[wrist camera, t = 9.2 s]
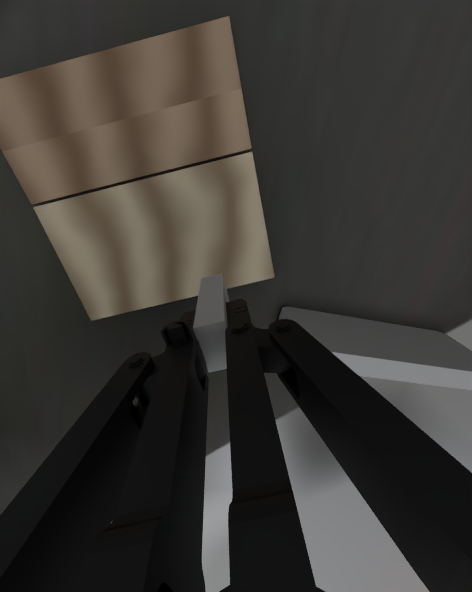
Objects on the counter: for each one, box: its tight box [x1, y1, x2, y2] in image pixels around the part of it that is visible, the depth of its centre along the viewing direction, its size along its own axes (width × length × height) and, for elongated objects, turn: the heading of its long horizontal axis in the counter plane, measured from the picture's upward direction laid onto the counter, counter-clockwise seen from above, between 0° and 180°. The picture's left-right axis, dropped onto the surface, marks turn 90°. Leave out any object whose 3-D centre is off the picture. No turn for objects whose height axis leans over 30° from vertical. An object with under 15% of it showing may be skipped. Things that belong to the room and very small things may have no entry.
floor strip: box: [0, 16, 252, 204], centre depth 24 cm, size 24×10×1 cm, turn 103°
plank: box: [33, 152, 275, 321], centre depth 29 cm, size 24×14×1 cm, turn 103°
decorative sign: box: [278, 307, 472, 390], centre depth 33 cm, size 32×4×10 cm, turn 77°
